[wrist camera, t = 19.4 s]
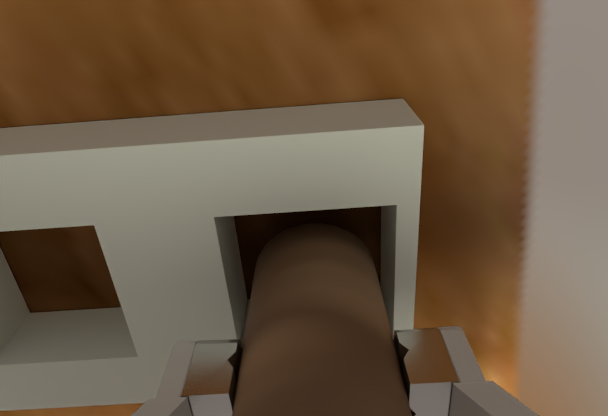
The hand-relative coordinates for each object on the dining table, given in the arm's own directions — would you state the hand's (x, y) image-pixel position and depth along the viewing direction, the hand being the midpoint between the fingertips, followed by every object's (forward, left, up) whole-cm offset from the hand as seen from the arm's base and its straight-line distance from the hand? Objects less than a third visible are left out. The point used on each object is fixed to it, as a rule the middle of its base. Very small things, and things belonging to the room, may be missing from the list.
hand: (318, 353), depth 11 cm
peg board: (-4, 0, -5) cm, 6 cm away
